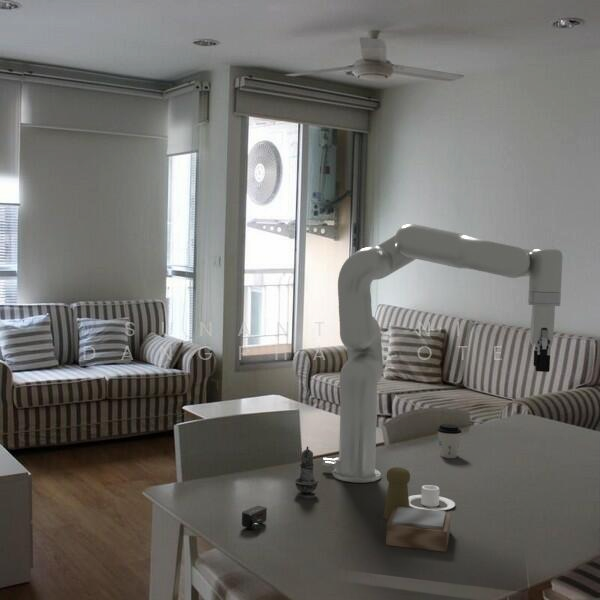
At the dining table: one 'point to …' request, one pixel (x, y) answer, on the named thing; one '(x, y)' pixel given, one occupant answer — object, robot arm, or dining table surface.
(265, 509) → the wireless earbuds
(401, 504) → the cork
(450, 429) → the coffee cup
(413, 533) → the wooden framed mirror
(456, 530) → the dining table surface
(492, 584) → the dining table surface
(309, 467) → the dark grey tiered figure
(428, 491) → the candle holder
